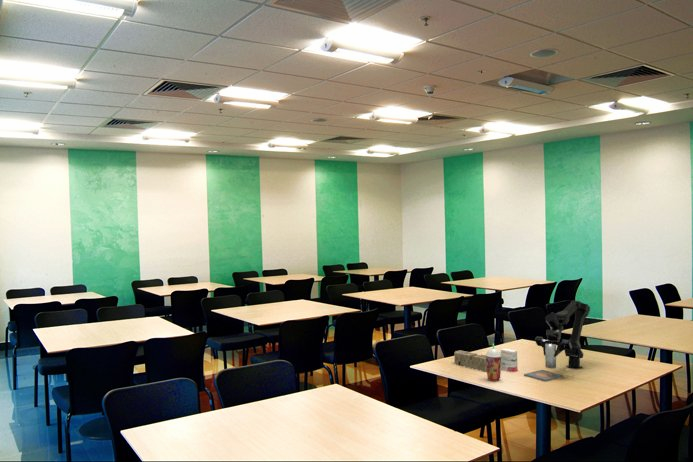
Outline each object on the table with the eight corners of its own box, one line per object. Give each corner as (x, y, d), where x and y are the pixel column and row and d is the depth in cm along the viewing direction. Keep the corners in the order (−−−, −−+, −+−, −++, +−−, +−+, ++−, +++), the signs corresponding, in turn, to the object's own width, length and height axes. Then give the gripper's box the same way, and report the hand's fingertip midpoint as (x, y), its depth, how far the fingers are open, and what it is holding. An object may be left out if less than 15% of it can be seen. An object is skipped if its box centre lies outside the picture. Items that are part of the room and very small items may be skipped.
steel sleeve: (549, 365, 295) (549, 342, 295) (558, 367, 291) (557, 343, 291) (543, 367, 292) (543, 343, 292) (552, 369, 287) (551, 345, 287)
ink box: (518, 370, 307) (517, 350, 307) (513, 372, 304) (512, 351, 304) (505, 367, 313) (505, 348, 314) (500, 369, 310) (500, 349, 310)
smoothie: (502, 378, 291) (502, 342, 291) (500, 382, 283) (499, 345, 283) (487, 377, 294) (486, 341, 294) (484, 381, 287) (484, 344, 287)
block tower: (452, 365, 325) (492, 373, 302) (452, 352, 325) (491, 358, 302) (461, 363, 330) (500, 371, 307) (460, 350, 330) (500, 356, 307)
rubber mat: (542, 371, 305) (542, 369, 305) (563, 376, 293) (563, 374, 293) (524, 375, 296) (523, 373, 296) (545, 381, 284) (545, 379, 284)
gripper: (535, 322, 300) (529, 345, 292) (569, 325, 288) (563, 349, 280) (540, 333, 306) (534, 356, 298) (574, 337, 295) (568, 361, 286)
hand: (549, 355), depth 290 cm, fingers closed on steel sleeve, 5 cm apart
